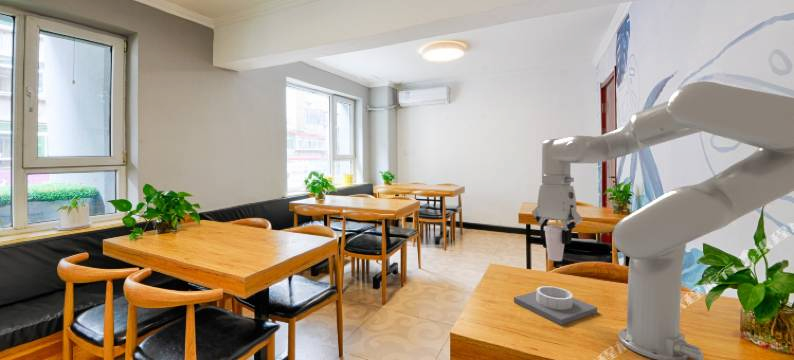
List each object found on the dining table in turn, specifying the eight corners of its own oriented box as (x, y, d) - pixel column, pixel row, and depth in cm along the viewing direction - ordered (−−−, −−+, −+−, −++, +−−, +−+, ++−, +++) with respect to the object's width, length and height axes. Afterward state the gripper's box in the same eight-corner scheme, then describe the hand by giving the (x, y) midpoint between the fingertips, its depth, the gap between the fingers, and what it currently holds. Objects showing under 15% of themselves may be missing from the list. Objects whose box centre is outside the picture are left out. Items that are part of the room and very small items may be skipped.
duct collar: (597, 312, 90) (597, 297, 90) (560, 325, 83) (561, 308, 83) (548, 292, 104) (548, 279, 104) (513, 301, 97) (514, 287, 97)
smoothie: (572, 260, 91) (572, 213, 90) (556, 263, 89) (556, 214, 88) (553, 255, 97) (554, 210, 96) (538, 257, 94) (538, 211, 94)
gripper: (593, 181, 86) (592, 245, 86) (539, 179, 101) (538, 234, 102) (576, 182, 82) (575, 249, 83) (523, 180, 98) (522, 236, 99)
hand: (555, 240), depth 92 cm, fingers closed on smoothie, 6 cm apart
